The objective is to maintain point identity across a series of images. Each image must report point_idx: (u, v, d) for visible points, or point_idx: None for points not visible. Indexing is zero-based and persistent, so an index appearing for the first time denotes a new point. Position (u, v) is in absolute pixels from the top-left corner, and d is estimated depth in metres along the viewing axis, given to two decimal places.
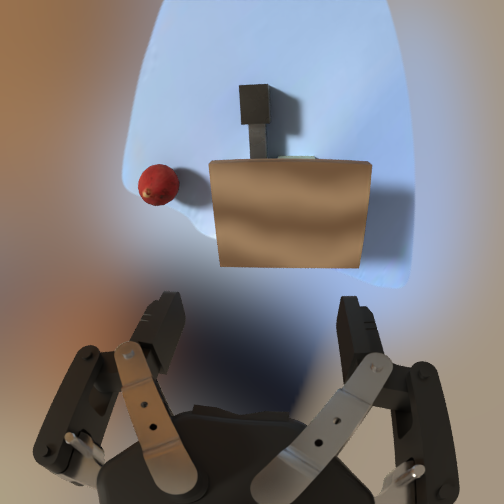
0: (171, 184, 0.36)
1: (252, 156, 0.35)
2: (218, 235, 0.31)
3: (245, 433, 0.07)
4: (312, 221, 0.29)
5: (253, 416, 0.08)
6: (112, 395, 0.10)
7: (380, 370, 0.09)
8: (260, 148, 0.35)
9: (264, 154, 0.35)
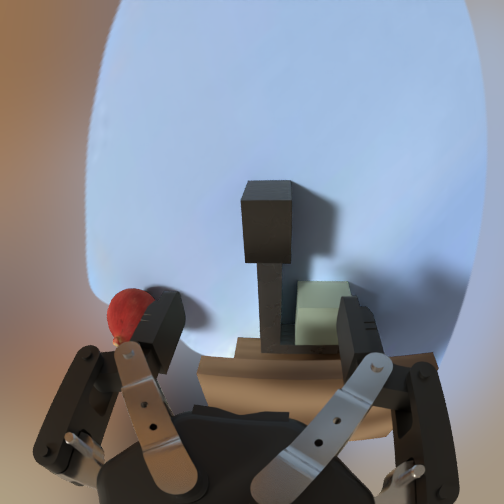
0: None
1: (261, 295, 0.25)
2: None
3: (245, 433, 0.07)
4: None
5: (253, 416, 0.08)
6: (112, 395, 0.10)
7: (380, 370, 0.09)
8: (273, 287, 0.24)
9: (279, 294, 0.25)
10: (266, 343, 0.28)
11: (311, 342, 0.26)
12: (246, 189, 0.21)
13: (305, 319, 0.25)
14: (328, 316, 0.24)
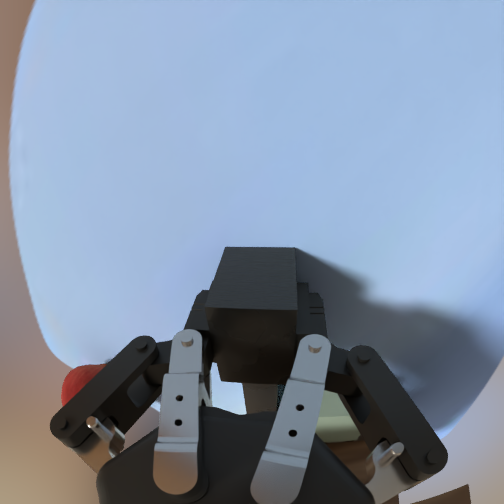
0: None
1: (248, 400, 0.16)
2: None
3: (245, 433, 0.07)
4: None
5: (253, 416, 0.08)
6: (157, 389, 0.11)
7: (316, 351, 0.10)
8: (265, 393, 0.16)
9: (274, 400, 0.16)
10: None
11: None
12: (219, 272, 0.12)
13: None
14: (339, 422, 0.16)
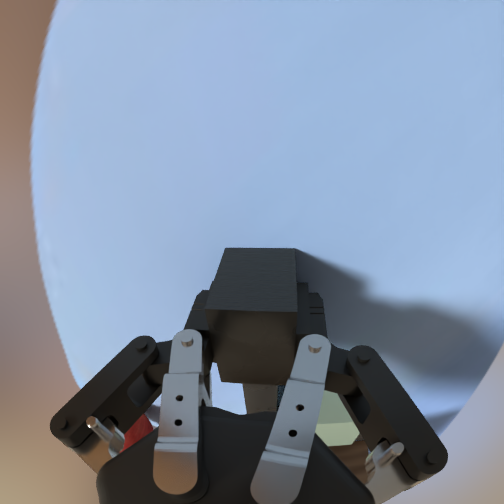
0: None
1: (248, 400, 0.16)
2: None
3: (245, 433, 0.07)
4: None
5: (253, 416, 0.08)
6: (157, 389, 0.11)
7: (316, 351, 0.10)
8: (265, 393, 0.16)
9: (274, 400, 0.16)
10: None
11: None
12: (219, 274, 0.12)
13: None
14: (334, 429, 0.16)
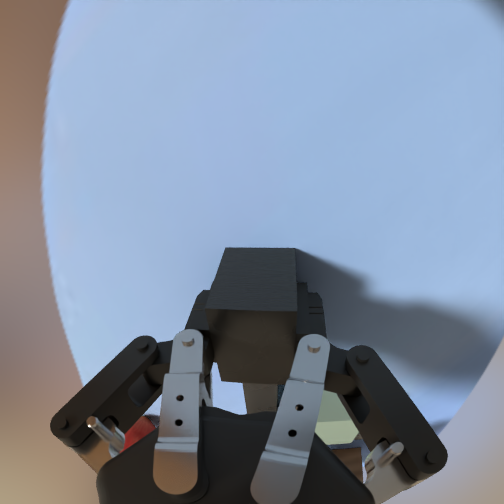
0: None
1: (248, 400, 0.16)
2: None
3: (245, 433, 0.07)
4: None
5: (253, 416, 0.08)
6: (158, 389, 0.11)
7: (315, 351, 0.10)
8: (265, 393, 0.16)
9: (274, 399, 0.16)
10: None
11: None
12: (219, 273, 0.12)
13: None
14: (333, 427, 0.16)
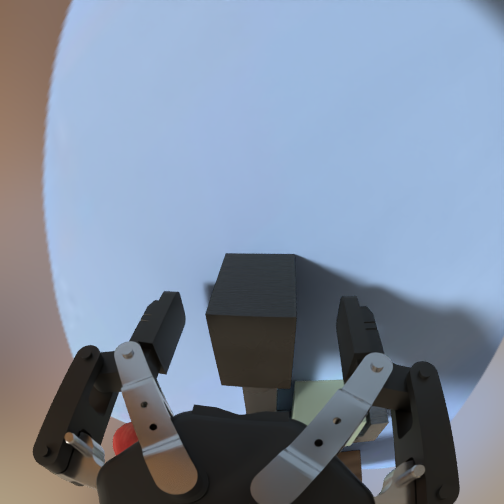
0: None
1: (248, 403, 0.16)
2: None
3: (245, 433, 0.07)
4: None
5: (253, 416, 0.08)
6: (112, 395, 0.10)
7: (380, 370, 0.09)
8: (265, 396, 0.16)
9: (273, 403, 0.16)
10: None
11: None
12: (219, 279, 0.12)
13: None
14: None
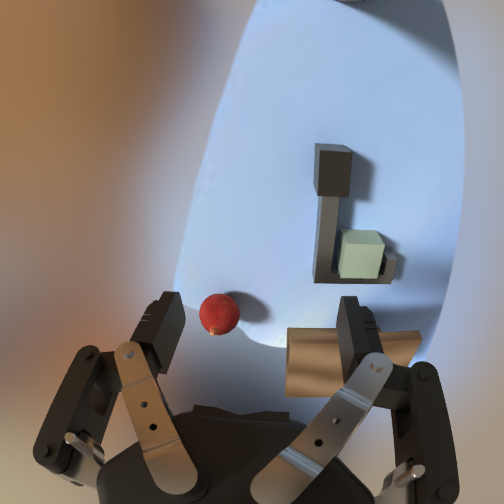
0: (235, 319, 0.39)
1: (321, 227, 0.33)
2: (288, 382, 0.34)
3: (245, 433, 0.07)
4: None
5: (253, 416, 0.08)
6: (112, 395, 0.10)
7: (380, 370, 0.09)
8: (331, 219, 0.32)
9: (335, 226, 0.33)
10: (319, 272, 0.36)
11: (353, 275, 0.35)
12: (318, 146, 0.29)
13: (350, 253, 0.33)
14: (366, 252, 0.33)
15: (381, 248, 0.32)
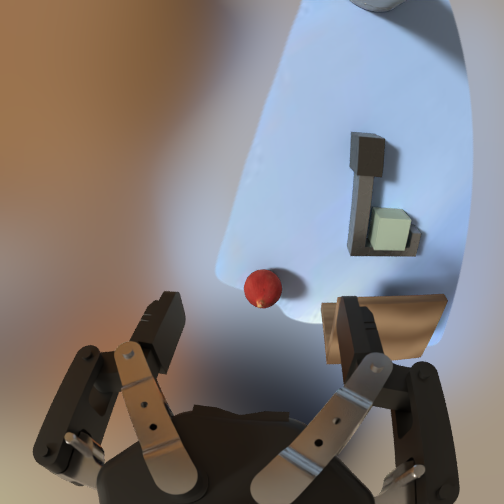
0: (279, 292, 0.43)
1: (358, 204, 0.36)
2: (332, 347, 0.37)
3: (245, 433, 0.07)
4: (400, 335, 0.35)
5: (253, 416, 0.08)
6: (112, 395, 0.10)
7: (380, 370, 0.09)
8: (366, 197, 0.35)
9: (369, 203, 0.36)
10: (355, 246, 0.39)
11: (384, 247, 0.38)
12: (355, 133, 0.32)
13: (383, 227, 0.37)
14: (396, 226, 0.36)
15: (408, 222, 0.36)
